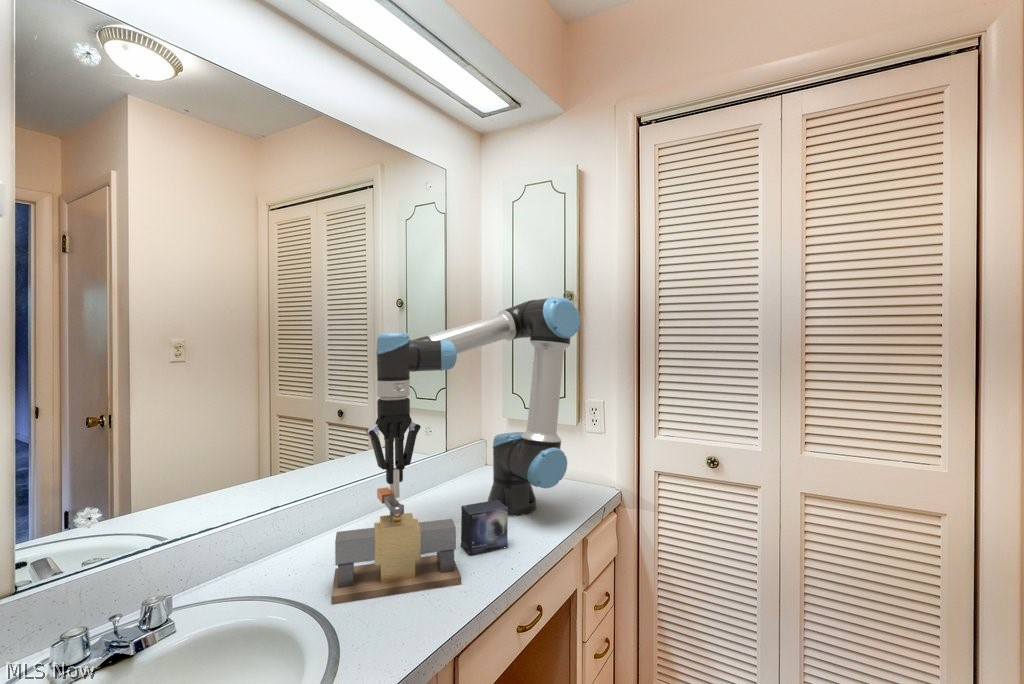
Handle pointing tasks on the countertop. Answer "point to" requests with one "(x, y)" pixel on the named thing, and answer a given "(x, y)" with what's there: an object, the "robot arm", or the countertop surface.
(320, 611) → the countertop surface
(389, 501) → the valve lever
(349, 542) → the valve
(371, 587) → the base board
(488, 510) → the small box
